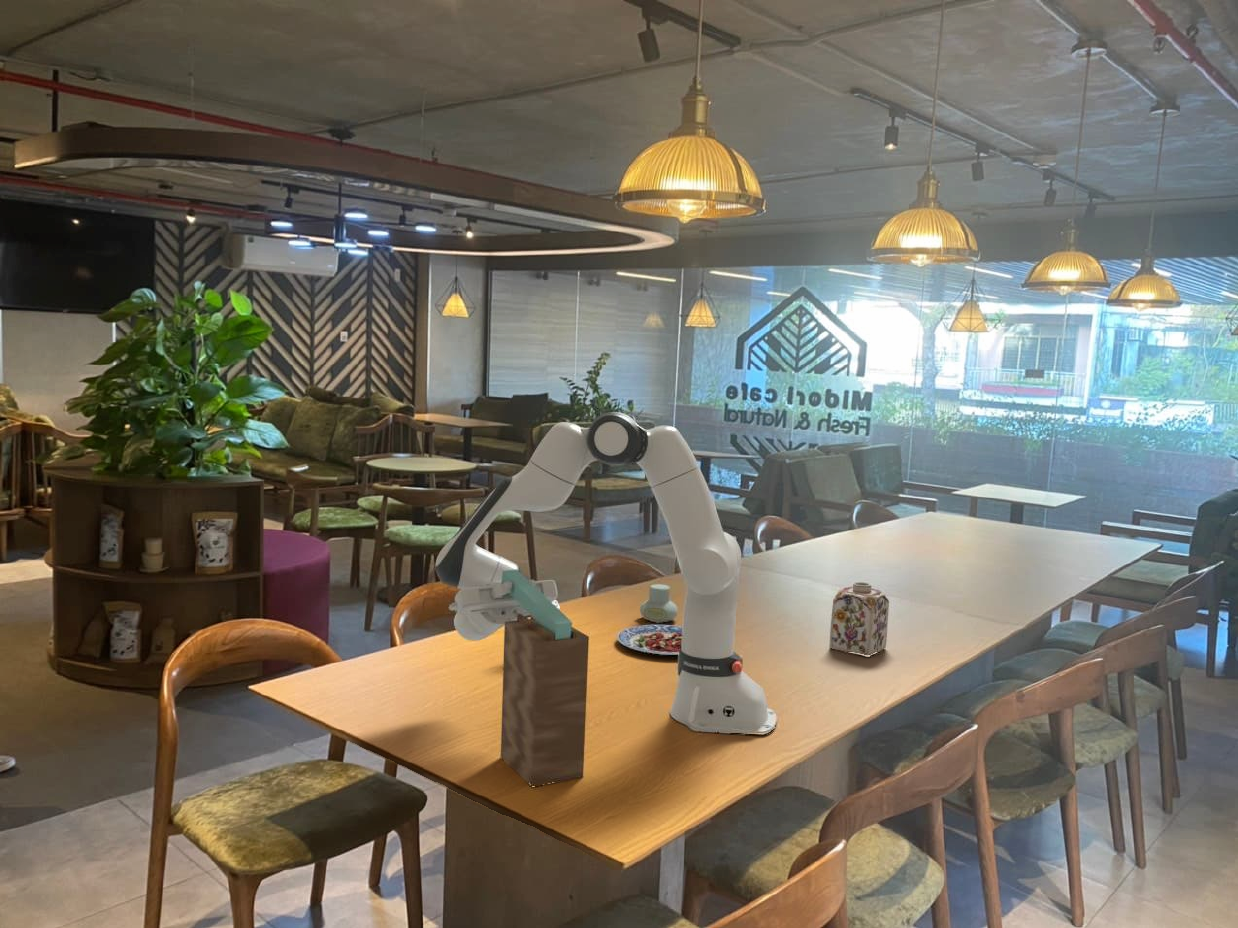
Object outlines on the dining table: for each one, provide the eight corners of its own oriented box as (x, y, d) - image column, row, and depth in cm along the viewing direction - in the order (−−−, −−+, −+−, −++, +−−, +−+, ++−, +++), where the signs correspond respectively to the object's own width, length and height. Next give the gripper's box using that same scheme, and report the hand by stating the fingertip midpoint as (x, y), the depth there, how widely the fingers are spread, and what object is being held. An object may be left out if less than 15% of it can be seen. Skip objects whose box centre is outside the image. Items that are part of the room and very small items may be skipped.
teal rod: (501, 585, 187) (502, 570, 186) (515, 583, 189) (516, 569, 188) (555, 640, 168) (556, 624, 167) (570, 638, 169) (572, 622, 168)
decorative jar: (869, 659, 250) (874, 591, 248) (827, 649, 257) (832, 583, 255) (887, 649, 260) (892, 583, 258) (846, 640, 267) (851, 576, 265)
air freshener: (636, 621, 276) (637, 587, 275) (644, 614, 284) (645, 581, 282) (673, 626, 273) (675, 592, 272) (680, 619, 281) (681, 585, 279)
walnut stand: (500, 757, 180) (504, 615, 177) (548, 748, 185) (553, 610, 182) (532, 787, 168) (537, 636, 165) (583, 777, 173) (589, 630, 170)
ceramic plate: (714, 636, 266) (715, 625, 265) (714, 665, 240) (714, 654, 240) (622, 629, 268) (622, 619, 268) (611, 658, 243) (612, 646, 243)
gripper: (443, 594, 190) (466, 573, 179) (537, 585, 200) (564, 564, 189) (448, 626, 188) (472, 606, 177) (543, 615, 198) (571, 595, 187)
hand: (521, 584), depth 183 cm, fingers closed on teal rod, 3 cm apart
